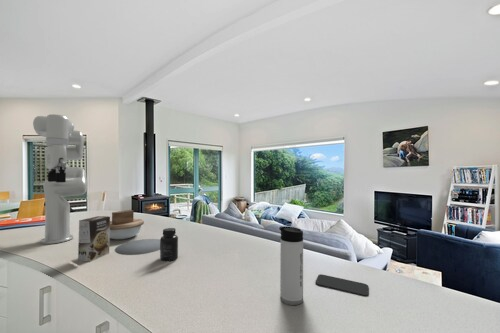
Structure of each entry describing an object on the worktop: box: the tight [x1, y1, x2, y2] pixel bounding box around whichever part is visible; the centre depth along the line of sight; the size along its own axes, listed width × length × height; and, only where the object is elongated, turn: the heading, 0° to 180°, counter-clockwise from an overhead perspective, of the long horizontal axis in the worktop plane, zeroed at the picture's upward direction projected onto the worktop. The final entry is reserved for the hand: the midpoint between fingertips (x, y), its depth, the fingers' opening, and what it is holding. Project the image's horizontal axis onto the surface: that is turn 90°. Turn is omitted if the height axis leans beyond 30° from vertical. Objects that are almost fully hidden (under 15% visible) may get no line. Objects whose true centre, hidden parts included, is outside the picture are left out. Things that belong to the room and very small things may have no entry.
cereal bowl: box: [110, 225, 142, 241], centre depth 119 cm, size 17×17×7 cm
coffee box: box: [77, 215, 111, 262], centre depth 93 cm, size 9×6×16 cm
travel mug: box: [279, 225, 304, 306], centre depth 64 cm, size 6×7×20 cm
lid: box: [110, 209, 145, 230], centre depth 119 cm, size 20×20×7 cm
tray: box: [114, 238, 161, 256], centre depth 105 cm, size 22×22×1 cm
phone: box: [314, 273, 369, 297], centre depth 71 cm, size 7×1×15 cm
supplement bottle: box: [159, 227, 179, 263], centre depth 91 cm, size 7×7×12 cm
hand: (56, 181), depth 101 cm, fingers open, 9 cm apart
